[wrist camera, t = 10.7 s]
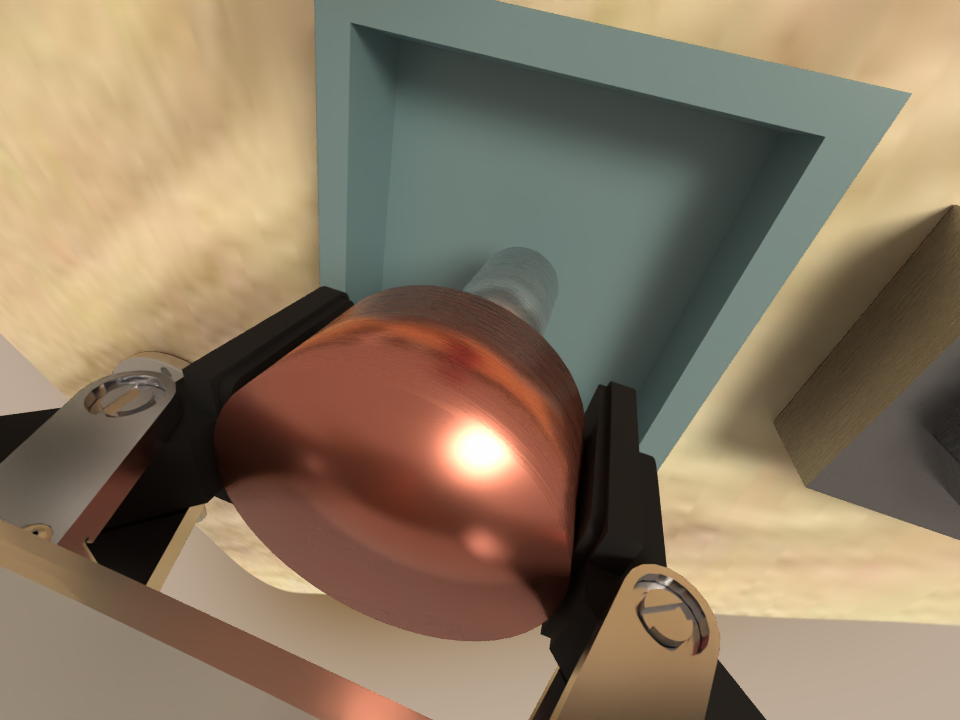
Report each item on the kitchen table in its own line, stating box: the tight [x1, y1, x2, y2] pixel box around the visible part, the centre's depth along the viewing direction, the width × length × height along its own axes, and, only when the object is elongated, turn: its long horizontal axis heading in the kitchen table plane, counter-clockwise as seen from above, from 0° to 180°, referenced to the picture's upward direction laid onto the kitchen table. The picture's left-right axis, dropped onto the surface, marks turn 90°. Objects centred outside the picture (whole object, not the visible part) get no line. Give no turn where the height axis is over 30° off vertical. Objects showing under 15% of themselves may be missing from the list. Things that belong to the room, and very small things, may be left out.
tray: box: [314, 0, 912, 471], centre depth 17 cm, size 16×16×4 cm
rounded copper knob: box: [214, 247, 585, 641], centre depth 11 cm, size 6×6×11 cm
